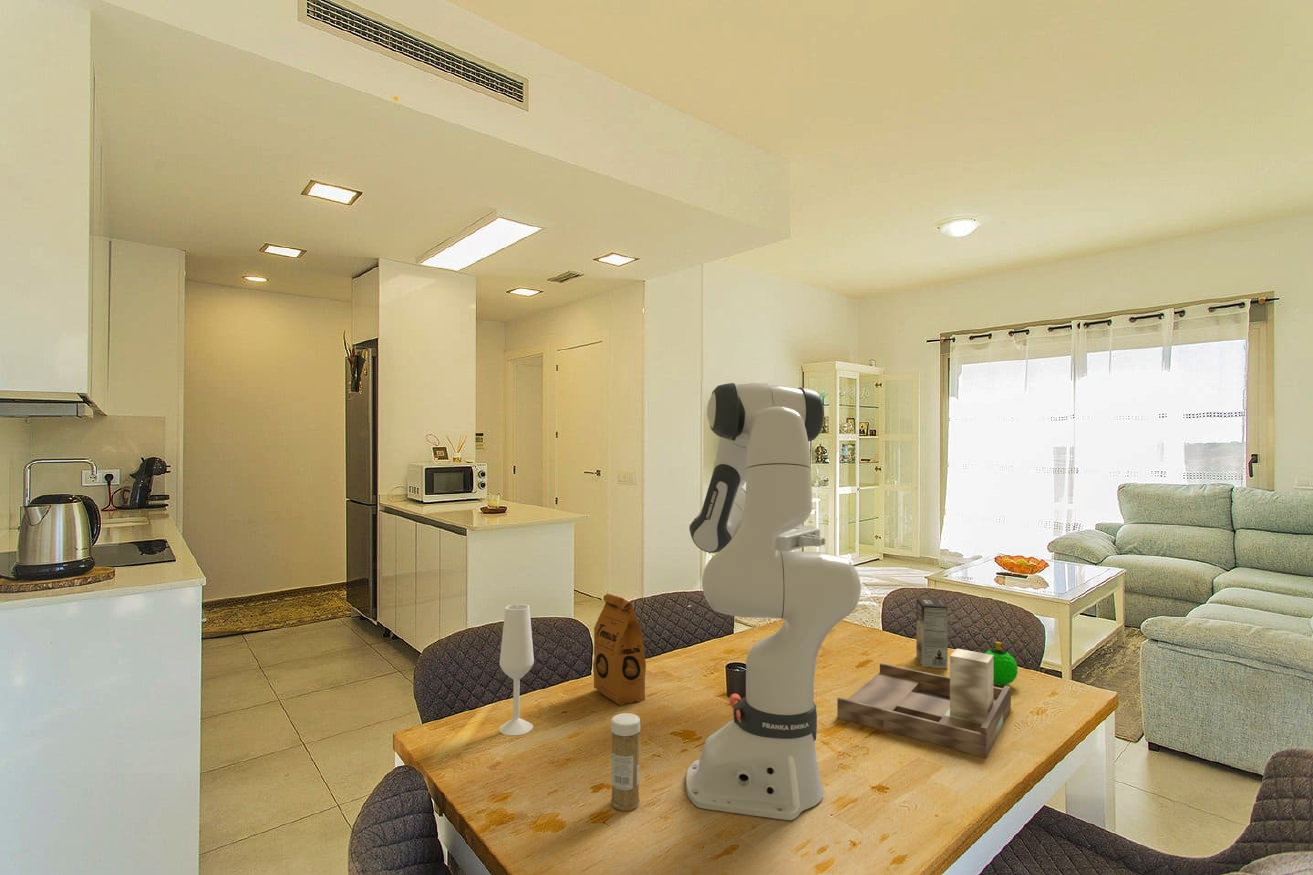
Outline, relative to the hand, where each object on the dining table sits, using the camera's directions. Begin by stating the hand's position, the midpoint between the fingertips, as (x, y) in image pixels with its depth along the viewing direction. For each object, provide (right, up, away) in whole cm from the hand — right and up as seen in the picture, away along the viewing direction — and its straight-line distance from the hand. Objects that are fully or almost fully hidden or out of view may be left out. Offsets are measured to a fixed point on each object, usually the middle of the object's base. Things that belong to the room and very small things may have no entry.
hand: (822, 541), depth 145 cm
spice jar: (-43, -34, -45) cm, 71 cm away
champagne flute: (-66, -34, -18) cm, 76 cm away
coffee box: (+35, -36, +24) cm, 55 cm away
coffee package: (-46, -35, 0) cm, 58 cm away
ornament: (+44, -36, +8) cm, 58 cm away
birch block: (+27, -33, -14) cm, 45 cm away
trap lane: (+20, -35, -9) cm, 41 cm away
